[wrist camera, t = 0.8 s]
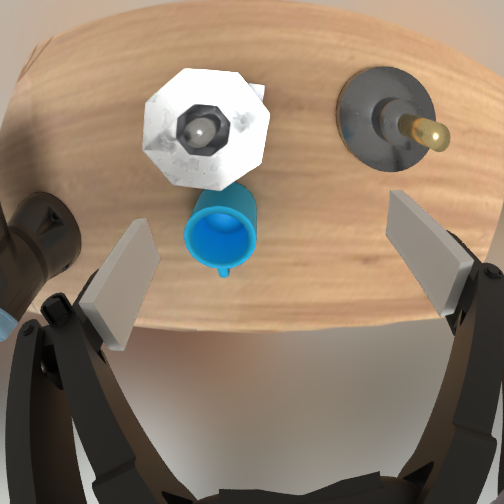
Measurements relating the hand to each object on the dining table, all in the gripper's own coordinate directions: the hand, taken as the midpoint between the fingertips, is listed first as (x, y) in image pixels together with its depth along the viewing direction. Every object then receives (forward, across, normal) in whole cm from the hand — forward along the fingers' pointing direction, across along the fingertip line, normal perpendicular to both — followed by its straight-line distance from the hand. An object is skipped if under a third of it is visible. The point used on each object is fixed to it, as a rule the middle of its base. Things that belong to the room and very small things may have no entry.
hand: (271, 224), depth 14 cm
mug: (+22, -6, -11) cm, 25 cm away
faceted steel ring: (+16, -5, +4) cm, 17 cm away
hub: (+22, +17, +2) cm, 28 cm away
